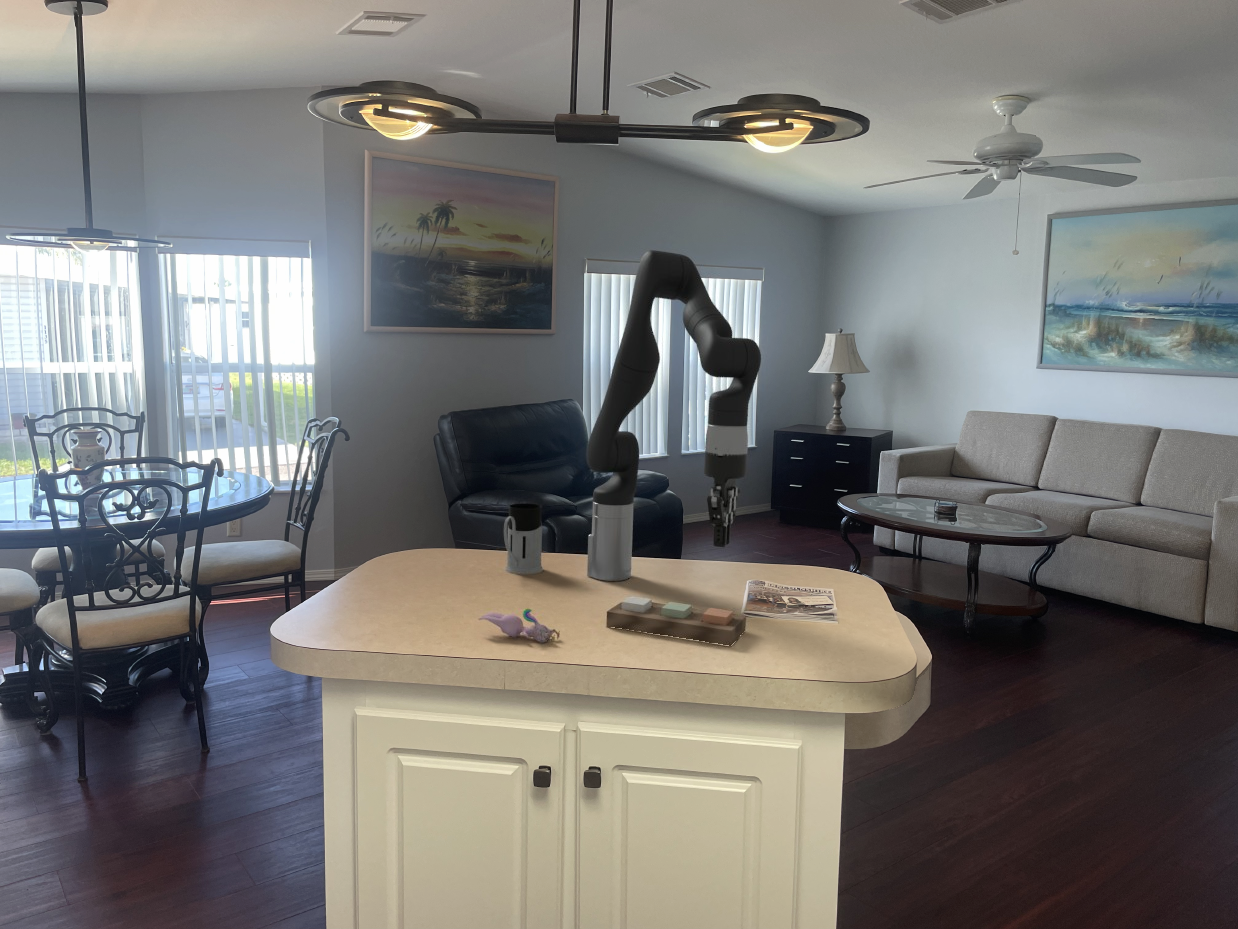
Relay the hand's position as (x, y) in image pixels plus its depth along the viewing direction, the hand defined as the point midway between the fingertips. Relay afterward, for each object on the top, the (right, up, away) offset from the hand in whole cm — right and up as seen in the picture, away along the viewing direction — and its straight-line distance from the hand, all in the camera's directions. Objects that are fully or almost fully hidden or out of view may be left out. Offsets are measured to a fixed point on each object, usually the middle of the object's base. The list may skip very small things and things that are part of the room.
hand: (721, 544), depth 163 cm
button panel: (-8, -16, +5) cm, 19 cm away
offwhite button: (-15, -14, +8) cm, 22 cm away
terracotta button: (-1, -15, +2) cm, 15 cm away
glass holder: (-42, -10, +44) cm, 61 cm away
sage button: (-8, -15, +5) cm, 17 cm away
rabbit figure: (-37, -17, -2) cm, 40 cm away
